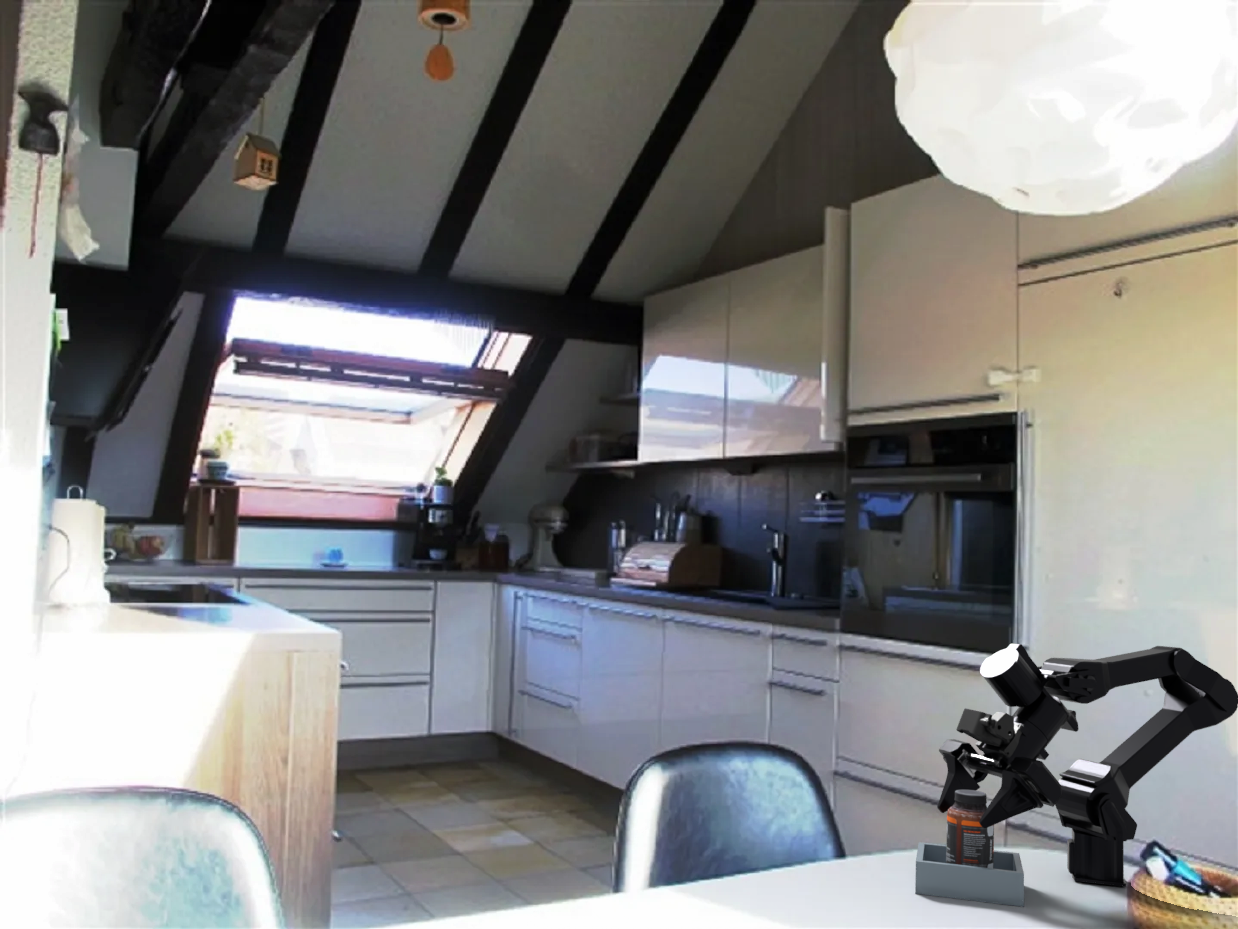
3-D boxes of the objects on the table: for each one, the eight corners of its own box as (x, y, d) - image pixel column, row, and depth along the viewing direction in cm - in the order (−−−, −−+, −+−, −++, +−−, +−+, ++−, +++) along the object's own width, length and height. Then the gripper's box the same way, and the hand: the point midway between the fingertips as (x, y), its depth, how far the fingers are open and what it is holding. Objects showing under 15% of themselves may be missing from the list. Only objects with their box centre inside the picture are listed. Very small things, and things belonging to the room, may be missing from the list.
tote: (1019, 884, 145) (1019, 853, 146) (1023, 907, 135) (1023, 873, 135) (918, 872, 149) (918, 842, 150) (915, 893, 139) (915, 861, 139)
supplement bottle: (1003, 886, 140) (1004, 796, 141) (964, 888, 139) (965, 797, 140) (974, 873, 146) (976, 787, 147) (936, 875, 144) (938, 787, 145)
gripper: (951, 681, 155) (883, 761, 150) (1043, 697, 137) (970, 789, 133) (996, 736, 157) (930, 818, 152) (1093, 759, 139) (1022, 852, 134)
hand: (960, 818), depth 143 cm, fingers open, 8 cm apart
